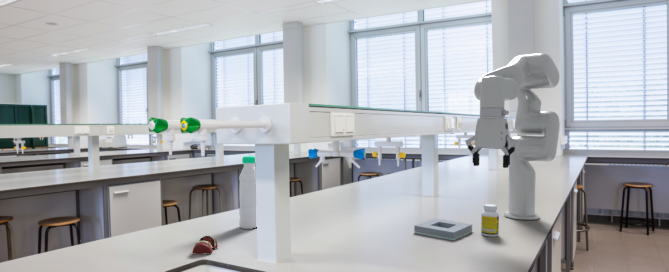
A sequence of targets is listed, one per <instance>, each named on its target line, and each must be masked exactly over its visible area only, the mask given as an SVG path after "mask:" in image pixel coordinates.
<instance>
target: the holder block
mask: <svg viewBox="0 0 669 272" xmlns="http://www.w3.org/2000/svg"><path fill="white" fill-rule="evenodd" d="M413 232H414V234H419V235H424V236H429V237H434V238H439V239H444V240H445V239H446V240H450V241H456V240H457V239H460V238H462V237H464V236H466V235H468V234H471V233H472V232H473V224H472V223H471V224H470V223H467V222H458V221H453V220H446V219H440V218H432V219H430V220H426V221H423V222H421V223H418V224H414V231H413Z"/></svg>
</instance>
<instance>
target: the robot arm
mask: <svg viewBox="0 0 669 272" xmlns="http://www.w3.org/2000/svg"><path fill="white" fill-rule="evenodd" d="M559 81H560V71H559V70H558V67H557V65H556V63H555V61H554V60H553V59H552V57H551V56H550V55H549V54H547V53H544V52H539V53H529V54H520V55H517V56H515V57H514V58H513V59H511V60H510V61H509V63H508V64H507V65H506V66H503V67H500V68H497V69H495V70H493V71H490V72H487V73H485V74H483V75H482V76H480V78H479V79H478V80H477V81H476V83H475V85H474V91H473V93H474V95H475V98H476V100H479V118H477V121H476V126H475V129H474V130H475V131H474V136H471V137H470V138H468V139H466V140H465V141H464V142H465V144H466V146H467V149H468V150H469V152H471V154H472V163H473V167H478V166H480V153H479V152H480V151H481V150H483V149H487V150H488V149H490V150H491V149H492V150H501V151H502V152H503V156H502V168H503V169H506V168H508V210H506V211H504V213H503V215H504V217H506V218H509V219H513V220H521V221H525V220H526V221H533V220H538V219H539V218H540V214H539V213H537V212H536V170H535V169H534V167H533V165H532V164H531V163H530V162H544V163H545V162H552V161H554V160H555V157H556V156H557V151H558V142H559V134H560V126H561V125H560V124H561V123H560V117H559V115H558V114H557V112H555V111H551V110H541V109H542V100H541V99H540V97H539V96H538V95H537V94H536V93H535V92H533V90H532V89H534V90H535V89H537V90H538V89H539V90H540V89H552V88H555V87H556V86H558V84H559ZM516 98H517V109H516V114H515V121H514V131H515V132H516V133H517V134H519V135H515V136H512V137H510V129H509V124H508V122H509V121H508V118H505V117H506V115H509V114H510V111H509V110H506V109H505V101H512V100H515V99H516ZM473 142H474V146H473V144H472V143H473Z"/></svg>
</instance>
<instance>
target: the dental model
mask: <svg viewBox="0 0 669 272" xmlns="http://www.w3.org/2000/svg"><path fill="white" fill-rule="evenodd" d="M218 246H219V245H218V242H217V239H216V238H215V237H213V236H210V235H204V236H202V237H201V238H200V239H199V240H198V241H197V242H196V243H195V245H194V247H193V249H192V254H193V253H212V252H213V249H212V248H217V247H218ZM217 249H218V248H217ZM212 254H213V253H212Z"/></svg>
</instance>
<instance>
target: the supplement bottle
mask: <svg viewBox="0 0 669 272" xmlns="http://www.w3.org/2000/svg"><path fill="white" fill-rule="evenodd" d="M497 209H498V206H497V205H496V204H493V203H492V204H490V203H489V204H488V203H487V204H486V203H485V204H483V211H482V212H481V214H480V215H481V217H480V219H481V220H480V221H481V222H480V225H481V226H480V230H481V231H480V232H481V233H480V234H481V235H482V236H485V237H489V238H492V237H494V238H496V237H498V236H499V232H500V231H499V229H500V228H499V225H500V223H499V221H500V215H499V212H497Z"/></svg>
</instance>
